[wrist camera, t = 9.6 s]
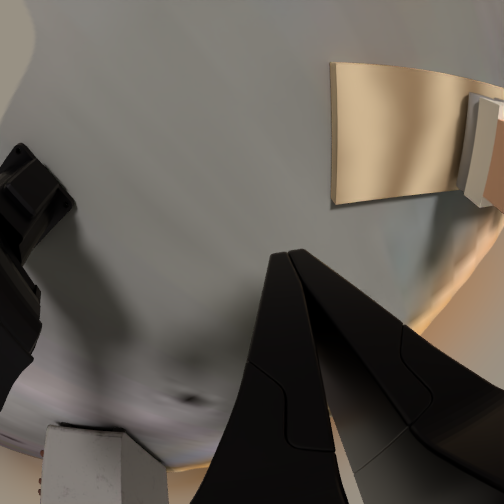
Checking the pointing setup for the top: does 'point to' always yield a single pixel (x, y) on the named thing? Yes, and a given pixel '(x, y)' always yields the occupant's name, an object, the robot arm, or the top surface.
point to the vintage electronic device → (99, 469)
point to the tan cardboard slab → (397, 130)
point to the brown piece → (483, 152)
